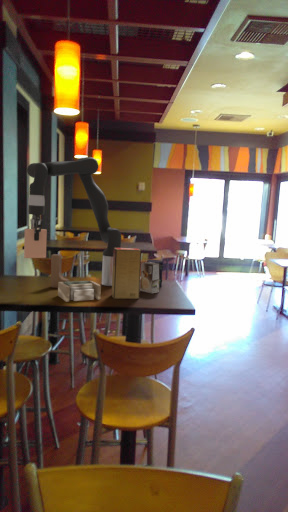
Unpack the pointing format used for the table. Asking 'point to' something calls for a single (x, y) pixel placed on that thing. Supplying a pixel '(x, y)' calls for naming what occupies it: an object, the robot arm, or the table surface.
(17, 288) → the table surface
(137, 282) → the food packaging
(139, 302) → the table surface
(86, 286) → the offcut rack
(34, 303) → the table surface
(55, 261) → the wooden block
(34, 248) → the pink rectangular block
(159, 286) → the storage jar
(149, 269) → the coffee box
